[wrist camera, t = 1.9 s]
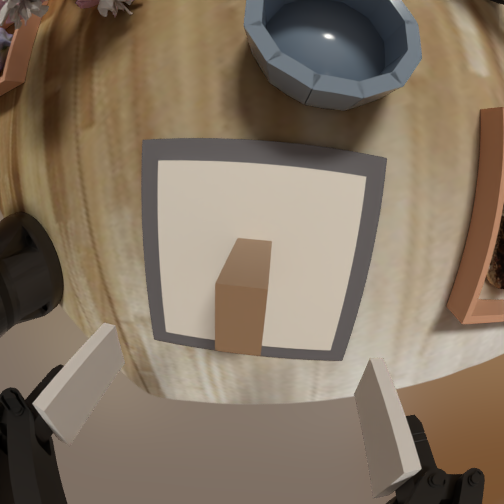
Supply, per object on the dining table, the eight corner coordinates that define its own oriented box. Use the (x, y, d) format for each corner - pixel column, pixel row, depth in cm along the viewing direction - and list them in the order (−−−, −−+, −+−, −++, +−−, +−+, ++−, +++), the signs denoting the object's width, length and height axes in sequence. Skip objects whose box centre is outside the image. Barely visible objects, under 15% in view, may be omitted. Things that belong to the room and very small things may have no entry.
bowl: (248, 101, 21) (238, 83, 15) (257, -10, 16) (251, -44, 11) (392, 122, 20) (423, 114, 14) (388, 11, 15) (410, -15, 10)
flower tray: (-19, 108, 21) (-35, 108, 17) (0, 30, 16) (-14, 27, 12) (24, 82, 20) (4, 80, 16) (51, -6, 15) (35, -13, 11)
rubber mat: (155, 336, 30) (154, 339, 30) (145, 140, 23) (142, 139, 22) (341, 357, 29) (342, 360, 28) (384, 158, 21) (387, 158, 21)
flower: (15, 3, 10) (-38, 40, 7) (18, 52, 16) (-34, 87, 13) (34, 11, 16) (-13, 39, 14) (37, 53, 22) (-9, 79, 19)
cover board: (167, 329, 29) (133, 388, 20) (160, 160, 23) (98, 166, 14) (329, 347, 28) (343, 415, 19) (364, 176, 21) (415, 190, 12)
